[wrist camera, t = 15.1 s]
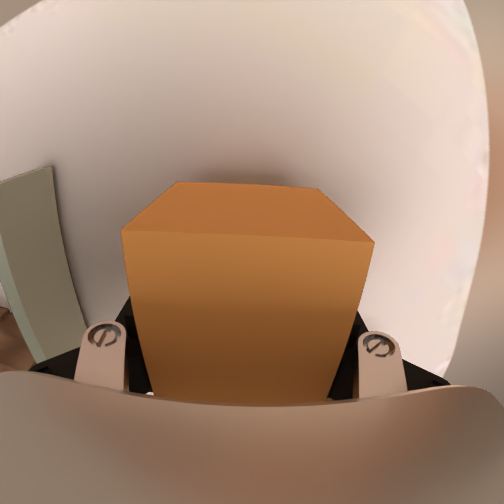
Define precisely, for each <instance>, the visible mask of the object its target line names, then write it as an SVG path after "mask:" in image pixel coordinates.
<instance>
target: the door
mask: <svg viewBox="0 0 504 504" xmlns="http://www.w3.org/2000/svg"><path fill="white" fill-rule="evenodd" d="M0 281H1V284H2V286H3V289H4V292H5V295H6V298H7V300H8V303H9V305H10V308H11V310H12V313H13V315H14V318H15V320H16V322H17V324H18V327H19V329H20V331H21V333H22V335H23V338H24V340H25V342H26V344H27V346H28V348H29V350H30V352H31V354H32V356H33V358H34V359H35V361H36V363H37V364H38V363H40V362H43V361H45V360H48V359H50V358H53V357H55V356H58V355H60V354H63V353H65V352H68V351H70V350H73V349H75V348H78V347H80V346H81V343H82V339H83V335H84V333H85V331H86V330H87V327H86V325H85V322H84V319H83V316H82V313H81V310H80V306H79V303H78V300H77V297H76V293H75V290H74V286H73V283H72V279H71V275H70V271H69V267H68V263H67V259H66V254H65V250H64V245H63V240H62V235H61V230H60V225H59V219H58V213H57V206H56V199H55V191H54V182H53V172H52V166H50V167H44V168H39V169H35V170H32V171H29V172H26V173H23V174H20V175H17V176H14V177H12V178H9V179H6V180H3V181H1V182H0Z"/></svg>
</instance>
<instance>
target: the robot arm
mask: <svg viewBox="0 0 504 504" xmlns="http://www.w3.org/2000/svg"><path fill="white" fill-rule="evenodd" d="M148 392H153V390H152V386H151V383H150V380H149V376H148V372H147V369H146V365H145V361H144V357H143V353H142V349H141V345H140V341H139V337H138V332H137V328H136V323H135V319H134V314H133V309H132V304H131V298H130V296H129V298H128V300H127V301H126V303H125V305H124V306H123V308H122V310H121V312H120V313H119V315H118V317H117V318H116V320H115V321H101V322H98V323H95V324H93V325H92V326H90V327H89V328H88V329H87V330H86V331H85V333H84V335H83V339H82V343H81V346H80V347H78V348H75V349H73V350H70V351H68V352H65V353H63V354H60V355H58V356H55V357H53V358H50V359H48V360H45V361H43V362H40V363H38V364H36V365H34V366H32V367H31V368H30V369H29V370H28V371H7V372H1V373H0V504H504V407H503V406H502V405H501V403H500V402H499V401H498V400H497V398H496V397H495V396H494V395H493V394H491V393H490V392H488V391H487V390H484V389H481V388H477V387H472V386H464V385H451V384H450V383H448V381H446V380H445V379H443V378H441V377H439V376H437V375H435V374H433V373H431V372H428V371H426V370H424V369H422V368H420V367H418V366H416V365H414V364H411V363H409V362H407V361H405V360H403V359H402V357H401V352H400V347H399V345H398V343H397V342H396V341H395V339H394V338H392V337H391V336H389V335H387V334H385V333H382V332H378V331H370V332H369V331H368V329H367V328H366V326H365V324H364V322H363V320H362V318H361V316H360V314H359V312H358V310H357V313H356V316H355V319H354V323H353V326H352V329H351V332H350V335H349V338H348V341H347V344H346V347H345V350H344V353H343V356H342V359H341V361H340V364H339V367H338V370H337V372H336V375H335V378H334V380H333V383H332V385H331V388H330V390H329V393H328V395H327V398H331V399H333V400H334V401H324V402H308V403H277V404H256V403H225V402H209V401H197V400H186V399H177V398H168V397H161V396H153V395H147V394H146V393H148Z"/></svg>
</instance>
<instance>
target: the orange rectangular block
mask: <svg viewBox="0 0 504 504" xmlns="http://www.w3.org/2000/svg"><path fill="white" fill-rule="evenodd" d="M121 238H122V247H123V254H124V262H125V268H126V275H127V281H128V287H129V293H130V298H131V304H132V309H133V314H134V319H135V323H136V328H137V332H138V337H139V341H140V345H141V349H142V353H143V357H144V361H145V365H146V369H147V372H148V376H149V380H150V383H151V386H152V390H153V393H154V396H161V397H168V398H177V399H186V400H197V401H209V402H225V403H256V404H277V403H308V402H324V401H325V400H326V398H327V395H328V393H329V390H330V388H331V385H332V383H333V380H334V378H335V375H336V372H337V370H338V367H339V364H340V361H341V359H342V356H343V353H344V350H345V347H346V344H347V341H348V338H349V335H350V332H351V329H352V326H353V323H354V319H355V316H356V313H357V309H358V306H359V303H360V299H361V296H362V292H363V288H364V285H365V281H366V277H367V273H368V269H369V265H370V261H371V257H372V253H373V248H374V244H375V242H374V241H373V240H372V239H371V238H370V237H369V236H368V235H367V234H366V233H365V232H364V231H363V230H362V229H361V228H360V227H359V226H358V225H357V224H356V223H355V222H353V221H352V220H351V219H350V218H349V217H348V216H347V215H346V214H345V213H344V212H343V211H342V210H341V209H340V208H339V207H338V206H336V205H335V204H334V203H333V202H332V201H331V200H330V199H329V198H328V197H327V196H325V195H324V194H323V193H322V192H321V191H320V190H319V189H313V188H302V187H289V186H275V185H259V184H240V183H213V182H176V183H175V184H174V185H173V186H171V187H170V188H169V189H168V190H167V191H165V192H164V193H163V194H162V195H161V196H159V197H158V198H157V199H156V200H155V201H153V202H152V203H151V204H150V205H149V206H148V207H146V208H145V209H144V210H143V211H142V212H141V213H139V214H138V215H137V216H136V217H135V218H134V219H133V220H132V221H130V222H129V223H128V224H127V225H126V226H125V227H124V228H123V229H122V230H121Z"/></svg>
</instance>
